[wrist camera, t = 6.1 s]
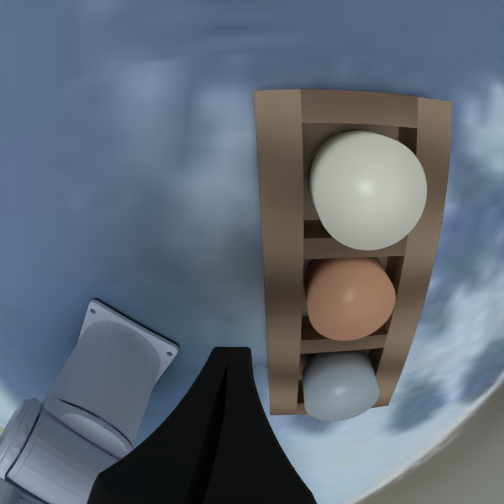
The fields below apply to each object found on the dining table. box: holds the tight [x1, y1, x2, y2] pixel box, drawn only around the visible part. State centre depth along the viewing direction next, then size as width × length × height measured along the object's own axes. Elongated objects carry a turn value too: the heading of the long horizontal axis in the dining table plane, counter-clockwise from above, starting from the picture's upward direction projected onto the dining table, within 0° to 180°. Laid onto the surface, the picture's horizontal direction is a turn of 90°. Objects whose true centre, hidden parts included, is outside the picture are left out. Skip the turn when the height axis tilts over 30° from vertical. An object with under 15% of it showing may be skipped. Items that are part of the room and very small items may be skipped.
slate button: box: [302, 350, 379, 421], centre depth 20 cm, size 5×5×3 cm
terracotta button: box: [304, 257, 396, 341], centre depth 19 cm, size 5×5×3 cm
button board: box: [253, 89, 452, 415], centre depth 19 cm, size 23×10×3 cm, turn 4°
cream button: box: [308, 129, 427, 250], centre depth 14 cm, size 5×5×3 cm
